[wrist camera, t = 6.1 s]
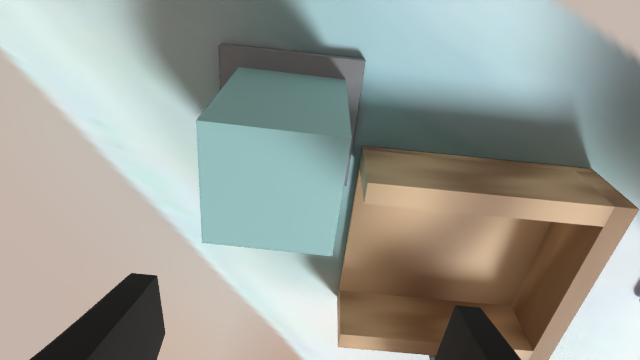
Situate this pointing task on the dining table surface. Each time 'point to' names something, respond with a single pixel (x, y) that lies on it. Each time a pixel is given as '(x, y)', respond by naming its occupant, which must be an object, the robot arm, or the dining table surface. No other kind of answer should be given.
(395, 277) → the crate
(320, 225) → the block
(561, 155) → the dining table surface
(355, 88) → the coaster
